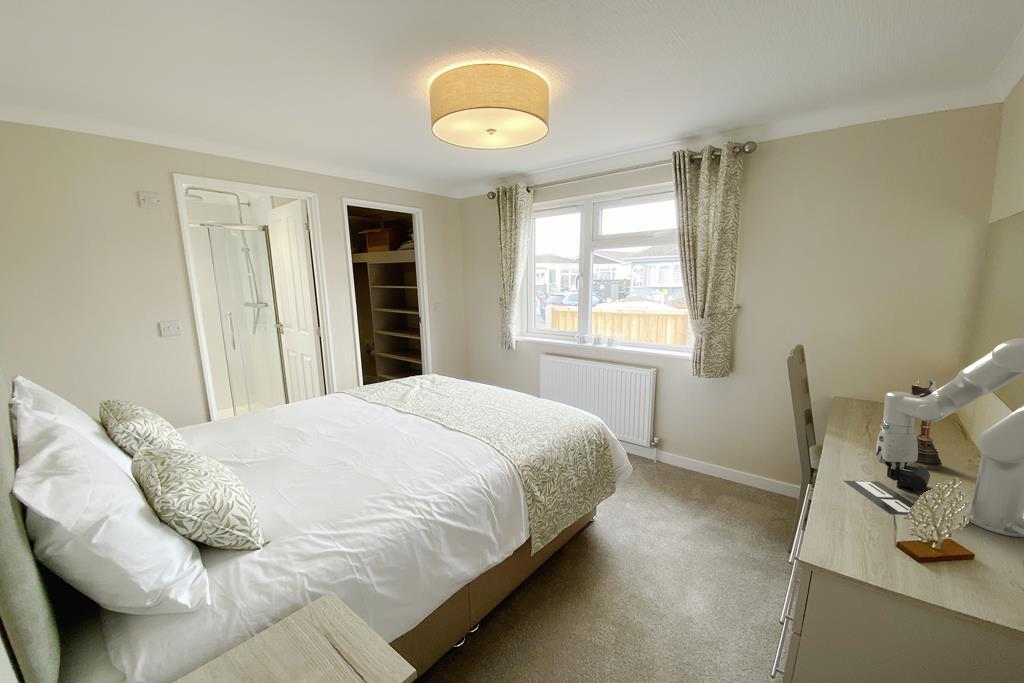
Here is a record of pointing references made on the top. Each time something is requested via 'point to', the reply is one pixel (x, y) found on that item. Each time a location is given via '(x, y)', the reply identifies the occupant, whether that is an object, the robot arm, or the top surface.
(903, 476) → the end cap
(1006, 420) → the robot arm
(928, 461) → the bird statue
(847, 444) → the top surface
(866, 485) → the far label
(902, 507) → the near label
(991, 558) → the top surface
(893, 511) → the label panel
